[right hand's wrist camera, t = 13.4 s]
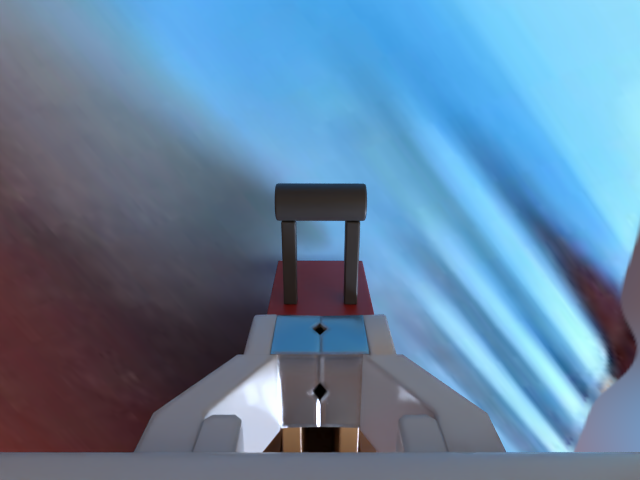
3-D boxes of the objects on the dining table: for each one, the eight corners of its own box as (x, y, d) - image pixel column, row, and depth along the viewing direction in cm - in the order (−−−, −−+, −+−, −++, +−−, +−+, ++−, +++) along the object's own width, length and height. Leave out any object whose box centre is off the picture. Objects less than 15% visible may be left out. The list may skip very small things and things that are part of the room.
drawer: (274, 161, 23) (248, 215, 14) (366, 162, 23) (393, 216, 14) (285, 479, 30) (272, 635, 22) (353, 479, 30) (366, 635, 22)
